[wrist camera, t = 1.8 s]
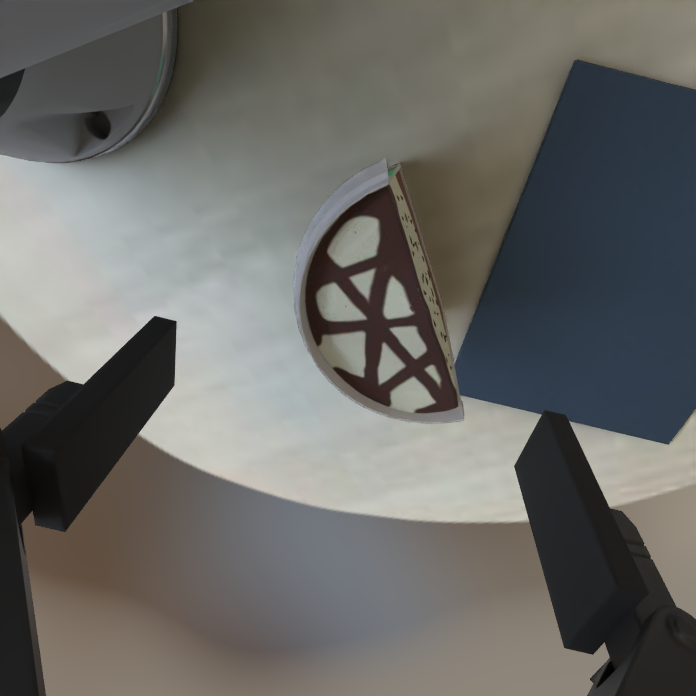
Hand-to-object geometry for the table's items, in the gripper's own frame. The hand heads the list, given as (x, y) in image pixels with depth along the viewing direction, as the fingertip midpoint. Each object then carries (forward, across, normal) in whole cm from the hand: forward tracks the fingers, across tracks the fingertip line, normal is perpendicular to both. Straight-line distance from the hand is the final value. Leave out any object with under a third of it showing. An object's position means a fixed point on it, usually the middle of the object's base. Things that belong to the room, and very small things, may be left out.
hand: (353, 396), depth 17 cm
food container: (+14, 0, 0) cm, 14 cm away
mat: (+14, +15, +2) cm, 21 cm away
